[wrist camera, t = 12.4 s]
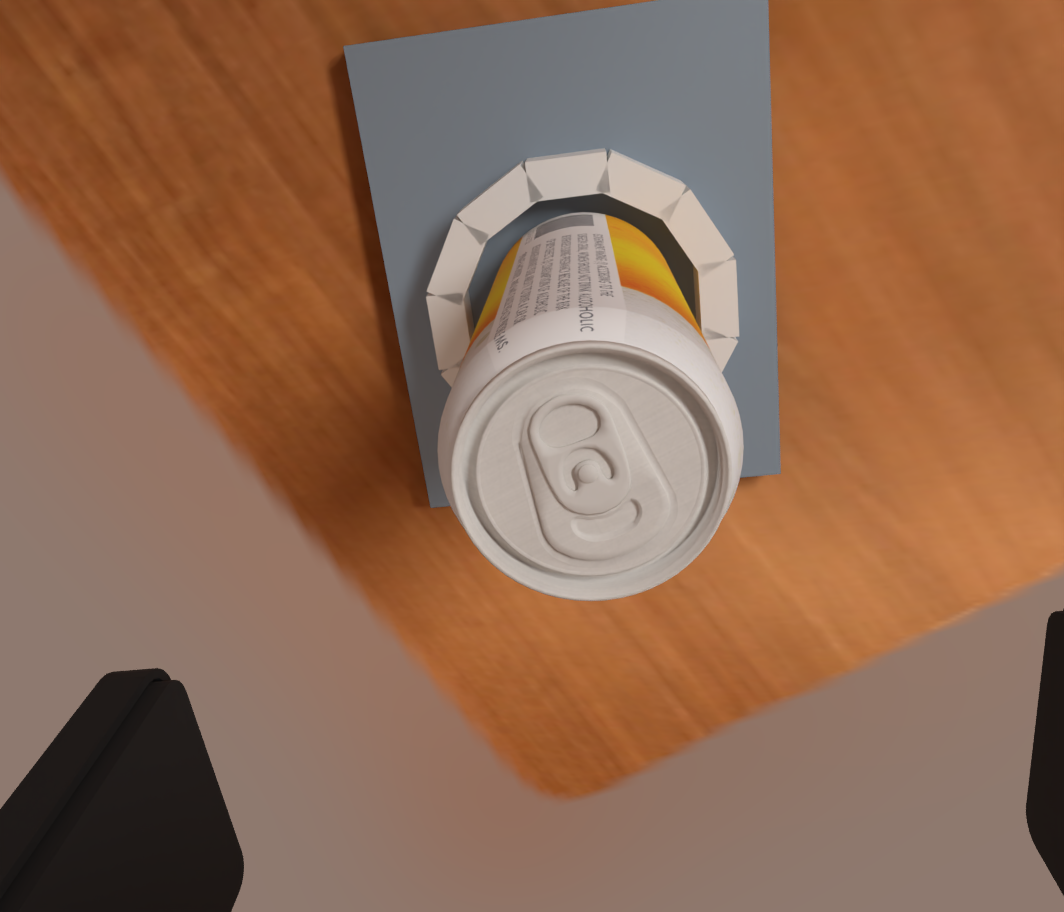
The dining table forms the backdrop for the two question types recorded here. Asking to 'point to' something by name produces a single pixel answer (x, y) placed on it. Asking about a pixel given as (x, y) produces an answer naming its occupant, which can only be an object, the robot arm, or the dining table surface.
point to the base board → (577, 177)
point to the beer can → (589, 417)
